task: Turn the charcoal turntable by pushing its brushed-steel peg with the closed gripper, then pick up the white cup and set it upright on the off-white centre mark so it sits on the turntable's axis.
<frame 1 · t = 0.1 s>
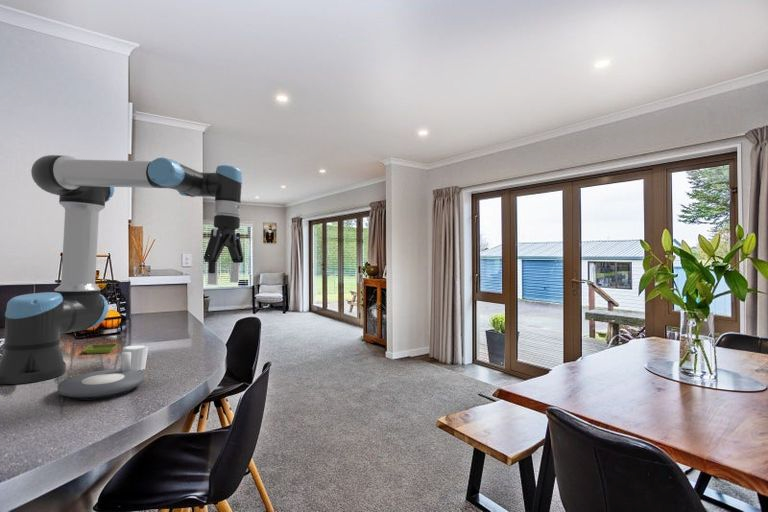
hand: (224, 283, 117), 28 cm above the countertop, fingers open, 13 cm apart
turntable: (103, 372, 98), point 5 cm above the countertop, hinge at 0.0°
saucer: (101, 352, 137), on the countertop
white cup: (134, 369, 118), on the countertop
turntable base: (102, 390, 98), on the countertop
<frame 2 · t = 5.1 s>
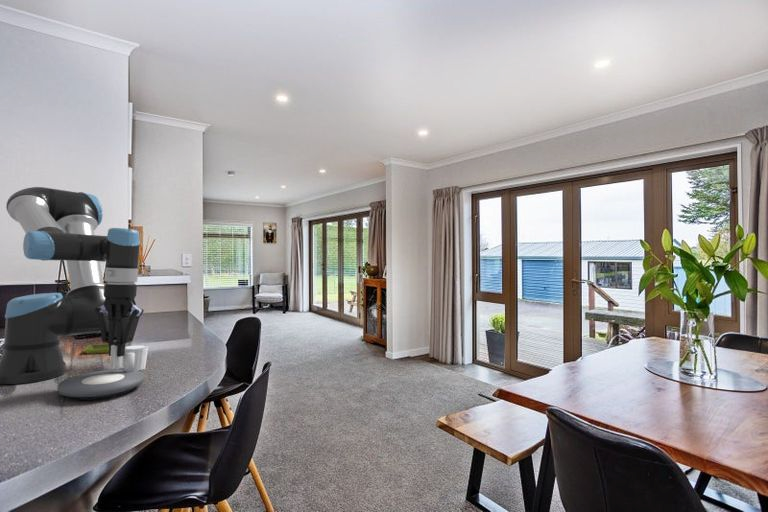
hand: (115, 367, 104), 4 cm above the countertop, fingers closed
turntable: (103, 372, 98), point 5 cm above the countertop, hinge at 8.5°, touching gripper
everything else where it was.
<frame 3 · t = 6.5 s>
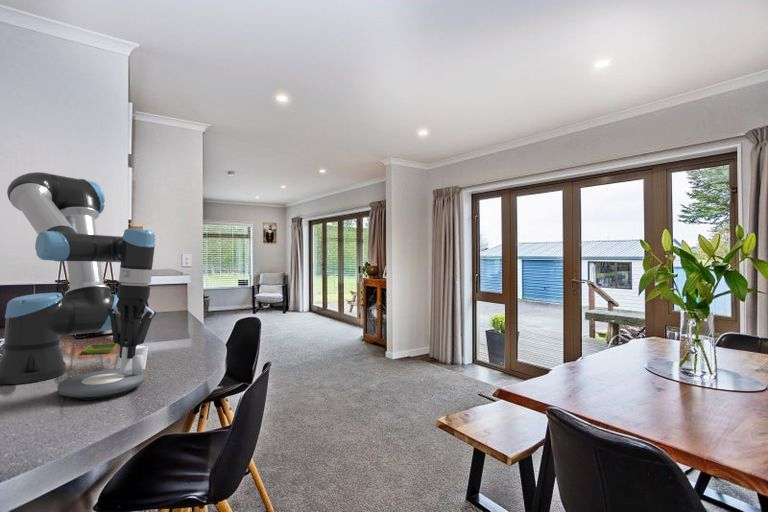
hand: (125, 370, 103), 4 cm above the countertop, fingers closed
turntable: (103, 372, 98), point 5 cm above the countertop, hinge at 44.1°, touching gripper
everything else where it was.
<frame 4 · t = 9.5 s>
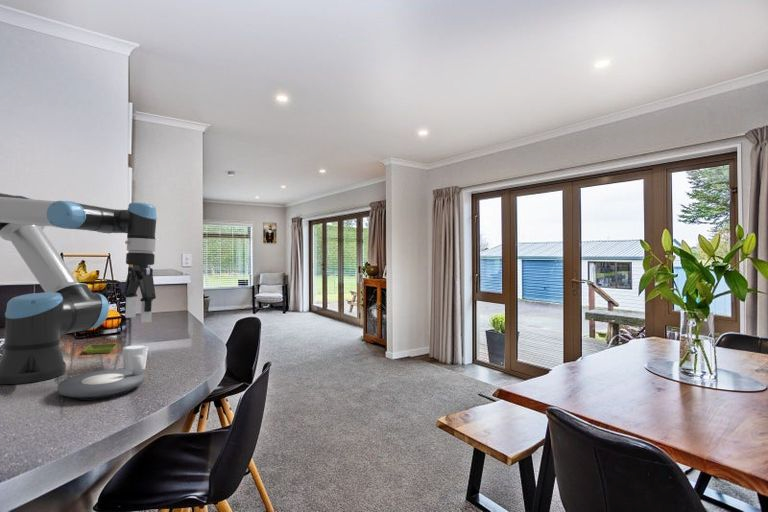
hand: (137, 319, 118), 15 cm above the countertop, fingers open, 13 cm apart
turntable: (103, 372, 98), point 5 cm above the countertop, hinge at 44.5°
everything else where it was.
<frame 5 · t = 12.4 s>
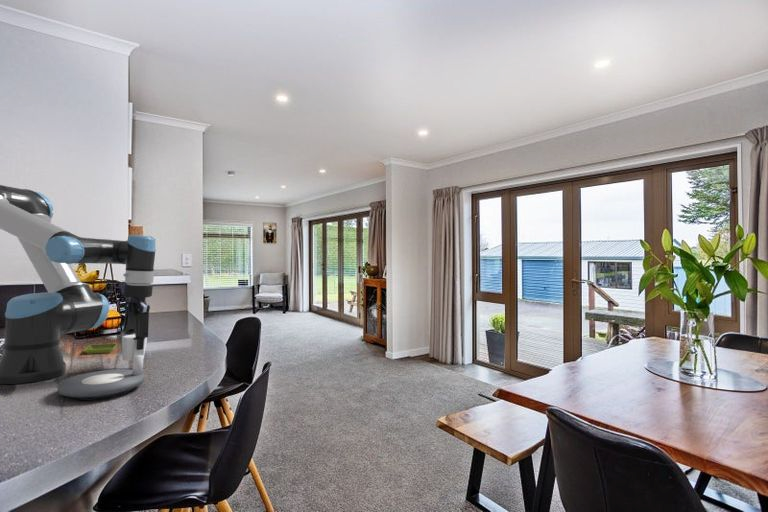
hand: (133, 357, 118), 4 cm above the countertop, fingers closed on white cup, 7 cm apart
white cup: (133, 358, 118), point 3 cm above the countertop, touching gripper
everything else where it was.
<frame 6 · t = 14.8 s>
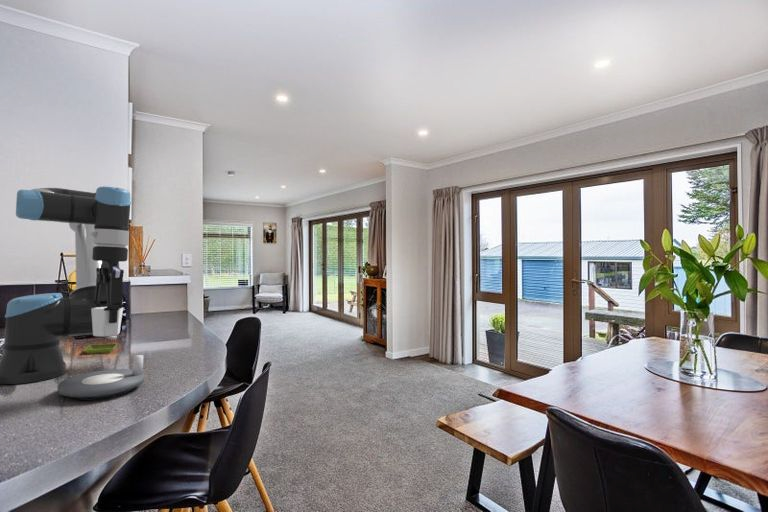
hand: (106, 333, 99), 15 cm above the countertop, fingers closed on white cup, 7 cm apart
white cup: (106, 335, 99), point 14 cm above the countertop, touching gripper
everything else where it was.
when the fingers open (3 cm above the countertop, at t = 17.3 s): white cup stays where it is, resting on turntable.
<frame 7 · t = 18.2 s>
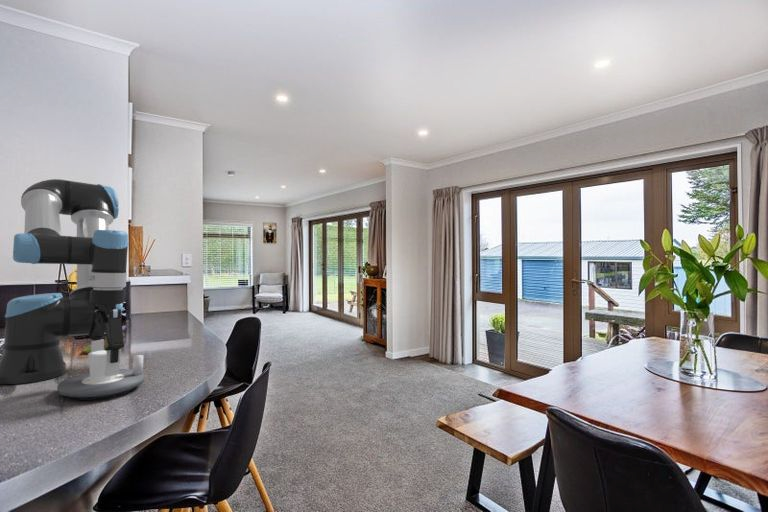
hand: (103, 369, 98), 5 cm above the countertop, fingers open, 13 cm apart
turntable: (103, 372, 98), point 5 cm above the countertop, hinge at 44.5°, touching white cup
white cup: (103, 379, 98), point 3 cm above the countertop, touching turntable
everything else where it was.
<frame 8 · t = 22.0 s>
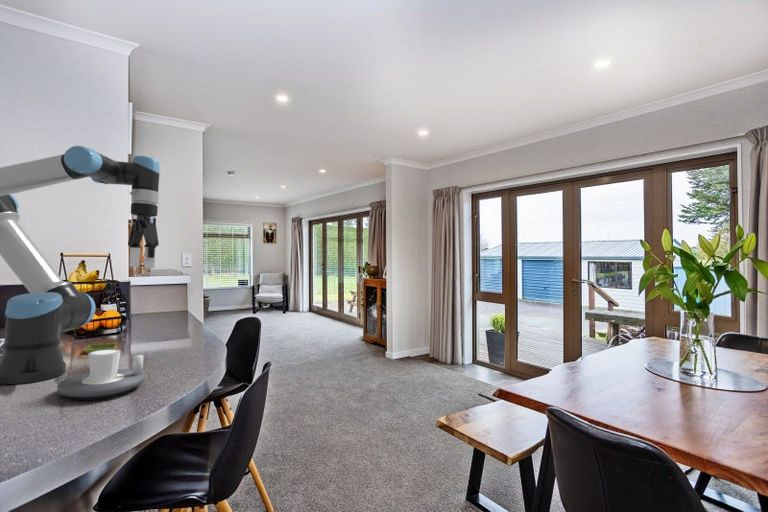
hand: (141, 267, 124), 32 cm above the countertop, fingers open, 13 cm apart
nothing on the countertop moved.
at the end: turntable at +44° (first picture: +0°); white cup 0.1 cm from the turntable (horizontally); white cup tilted 0° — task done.
